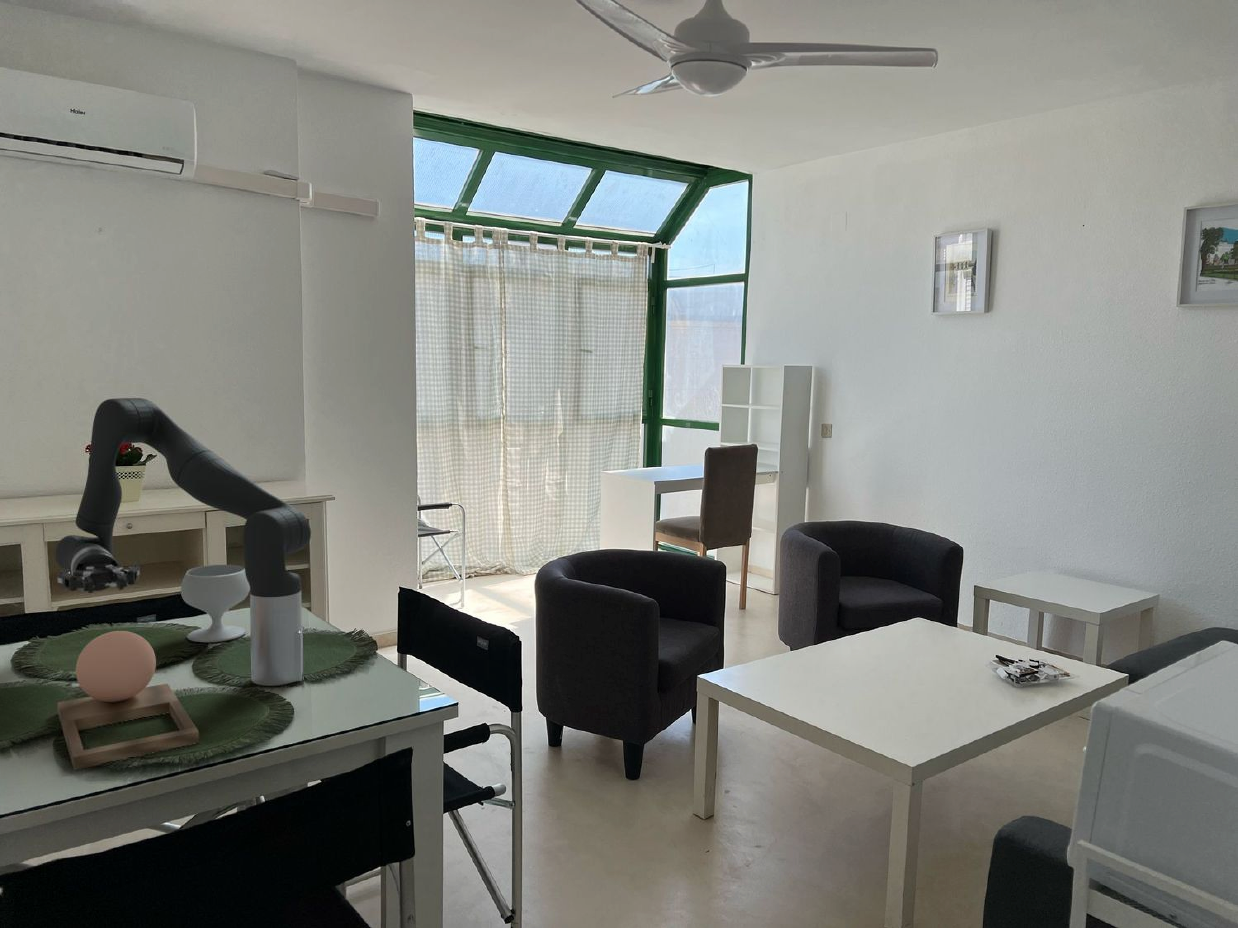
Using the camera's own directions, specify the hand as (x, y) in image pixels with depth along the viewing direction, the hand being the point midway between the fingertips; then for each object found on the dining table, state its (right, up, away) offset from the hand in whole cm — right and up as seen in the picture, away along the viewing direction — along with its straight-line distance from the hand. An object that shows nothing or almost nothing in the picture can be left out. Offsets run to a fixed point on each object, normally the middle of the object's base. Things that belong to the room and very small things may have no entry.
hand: (106, 585), depth 157 cm
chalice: (+3, -17, +38) cm, 41 cm away
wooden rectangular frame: (+11, -22, -13) cm, 28 cm away
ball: (+6, -13, -7) cm, 16 cm away
